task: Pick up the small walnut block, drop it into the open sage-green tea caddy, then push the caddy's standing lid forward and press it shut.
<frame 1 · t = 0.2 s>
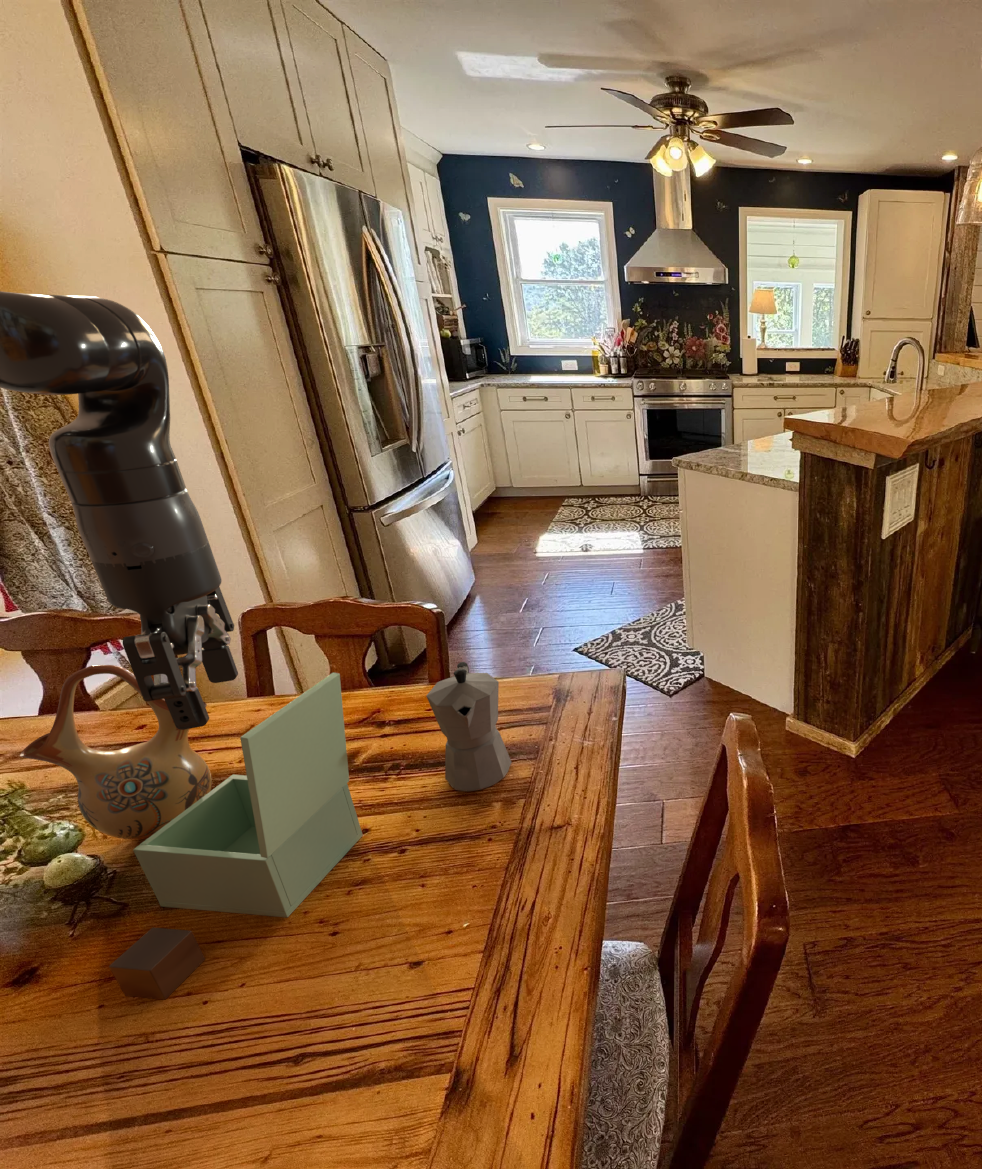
hand: (210, 701, 61), 29 cm above the table, tool pointing down, fingers open, 8 cm apart
caddy: (268, 868, 78), on the table
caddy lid: (301, 761, 70), point 17 cm above the table, hinge at 100.0°
coffeepot: (479, 768, 96), on the table
ceramic vessel: (166, 828, 83), on the table
block: (166, 976, 65), on the table
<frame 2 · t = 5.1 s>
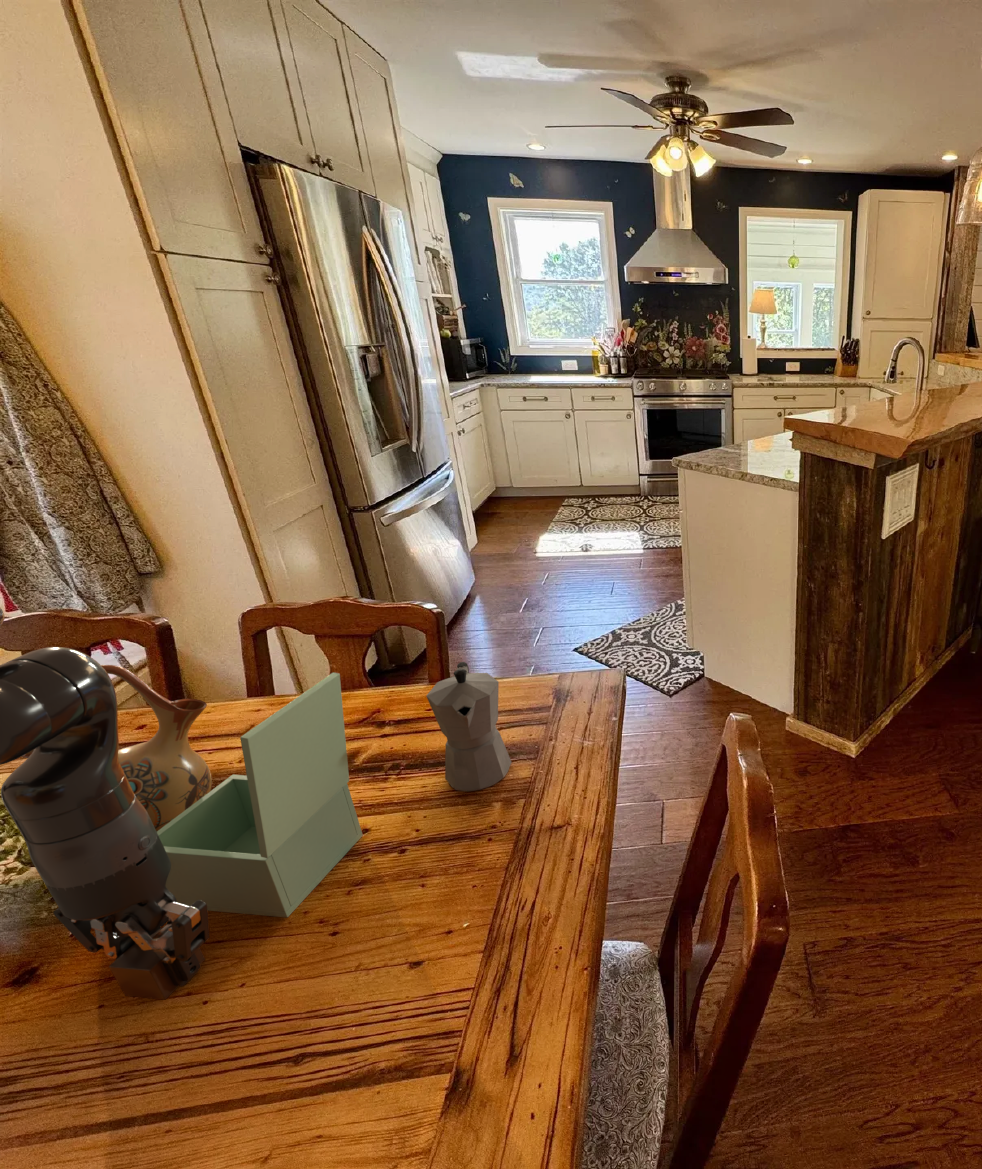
hand: (165, 974, 65), 0 cm above the table, tool pointing down, fingers closed on block, 4 cm apart
block: (166, 976, 65), on the table, touching gripper
everything else where it was.
when the fingers open (14 cm above the table, at t = 10.8 s): block drops 13 cm, resting on caddy.
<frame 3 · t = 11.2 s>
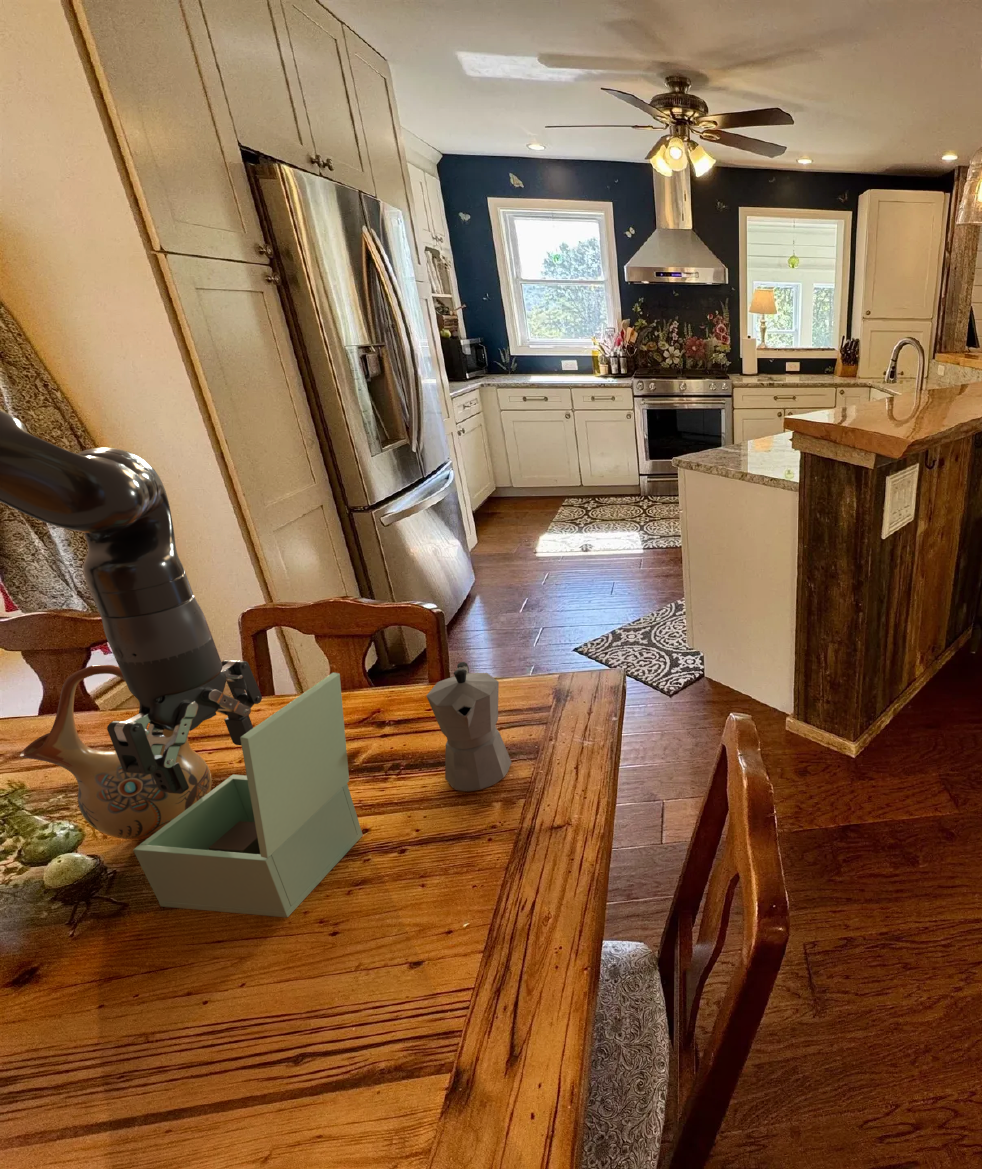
hand: (213, 766, 72), 16 cm above the table, tool pointing down, fingers open, 8 cm apart
block: (252, 861, 78), point 1 cm above the table, touching caddy
everything else where it was.
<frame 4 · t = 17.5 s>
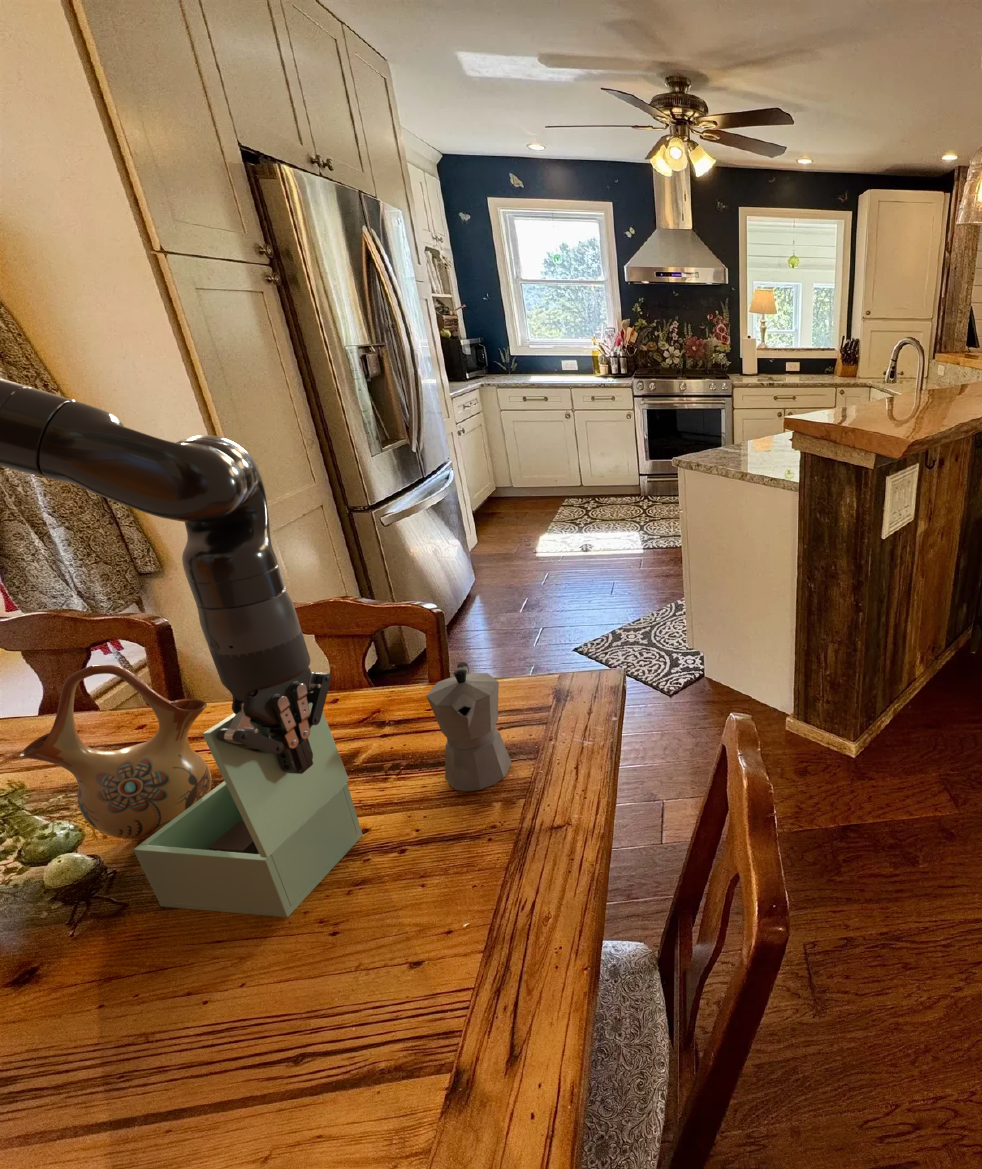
hand: (300, 768, 71), 16 cm above the table, tool pointing down, fingers closed
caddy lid: (284, 759, 71), point 17 cm above the table, hinge at 86.0°, touching gripper
everything else where it was.
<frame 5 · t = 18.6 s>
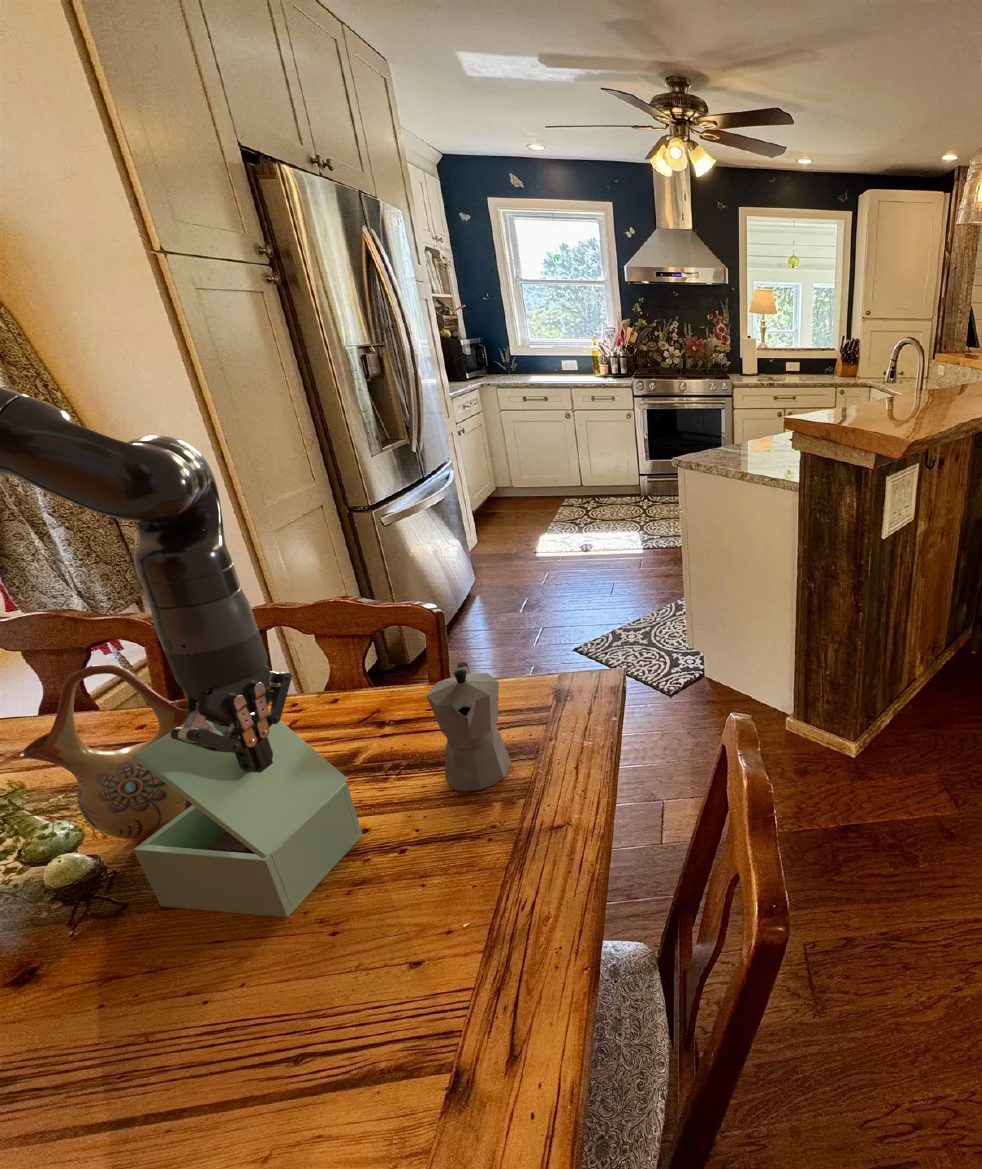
hand: (259, 767, 71), 16 cm above the table, tool pointing down, fingers closed
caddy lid: (251, 769, 71), point 16 cm above the table, hinge at 51.9°, touching gripper
everything else where it was.
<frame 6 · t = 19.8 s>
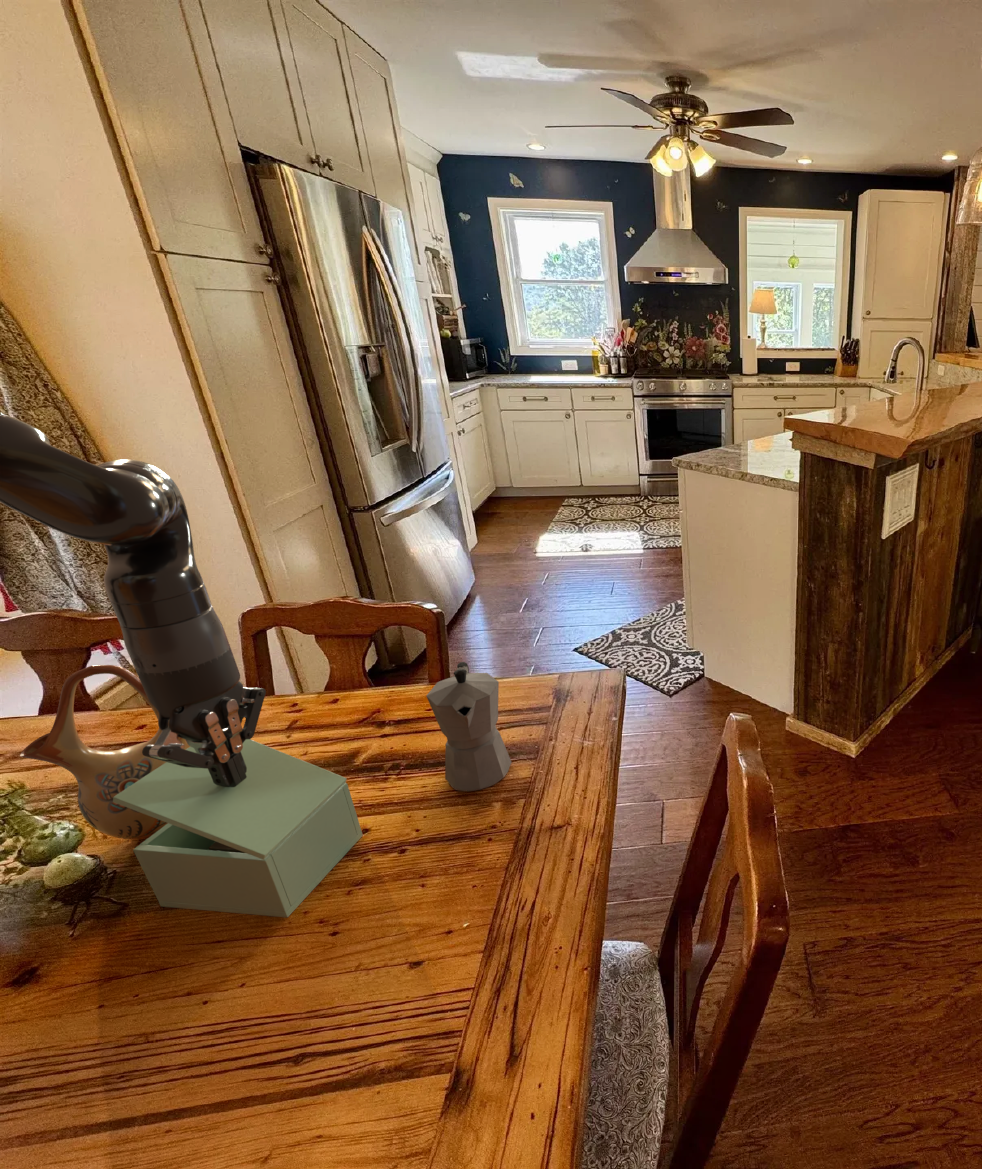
hand: (233, 782, 72), 14 cm above the table, tool pointing down, fingers closed
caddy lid: (240, 789, 73), point 13 cm above the table, hinge at 24.1°, touching gripper
everything else where it was.
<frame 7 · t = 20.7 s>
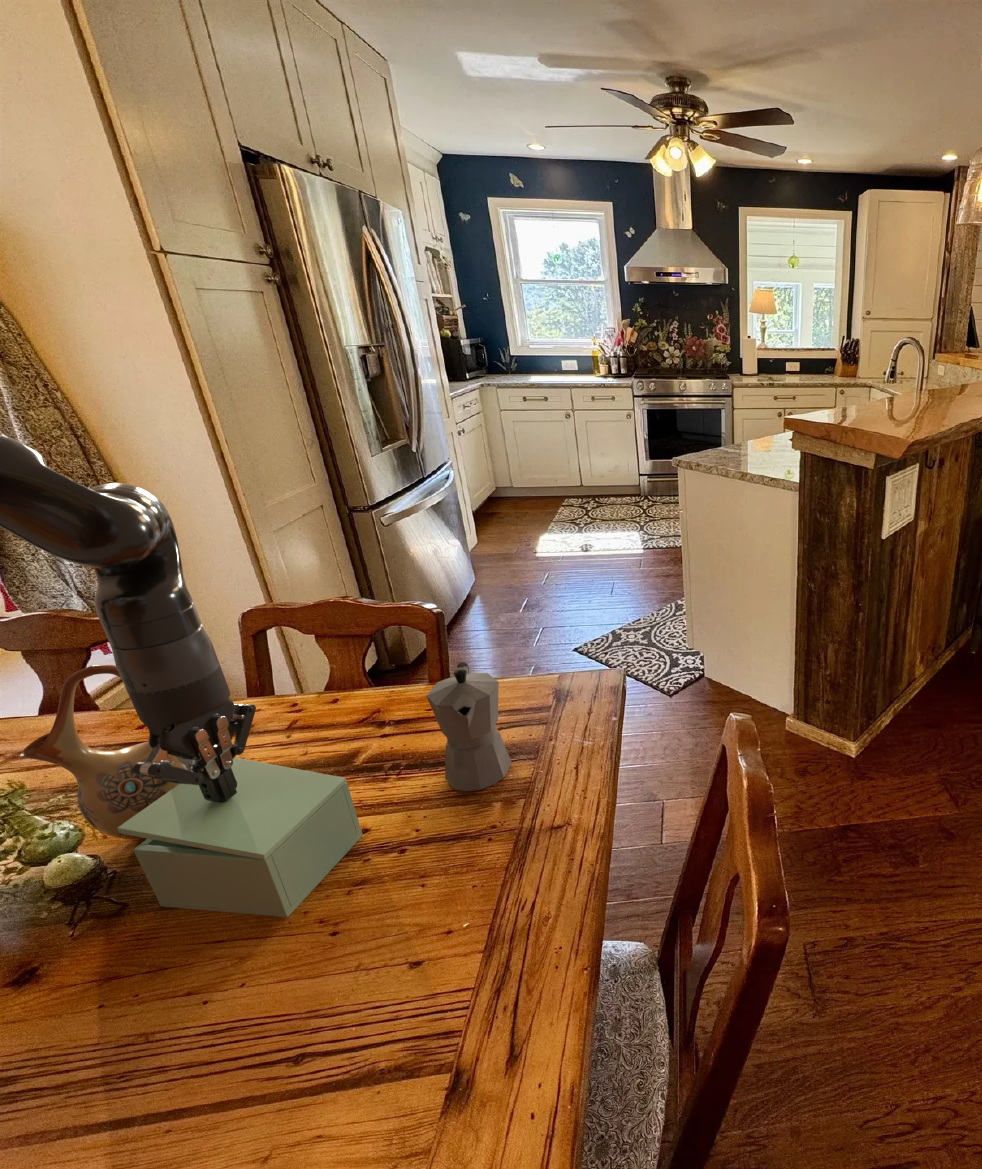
hand: (224, 797, 73), 11 cm above the table, tool pointing down, fingers closed
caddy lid: (241, 803, 74), point 10 cm above the table, hinge at 7.8°, touching gripper
everything else where it was.
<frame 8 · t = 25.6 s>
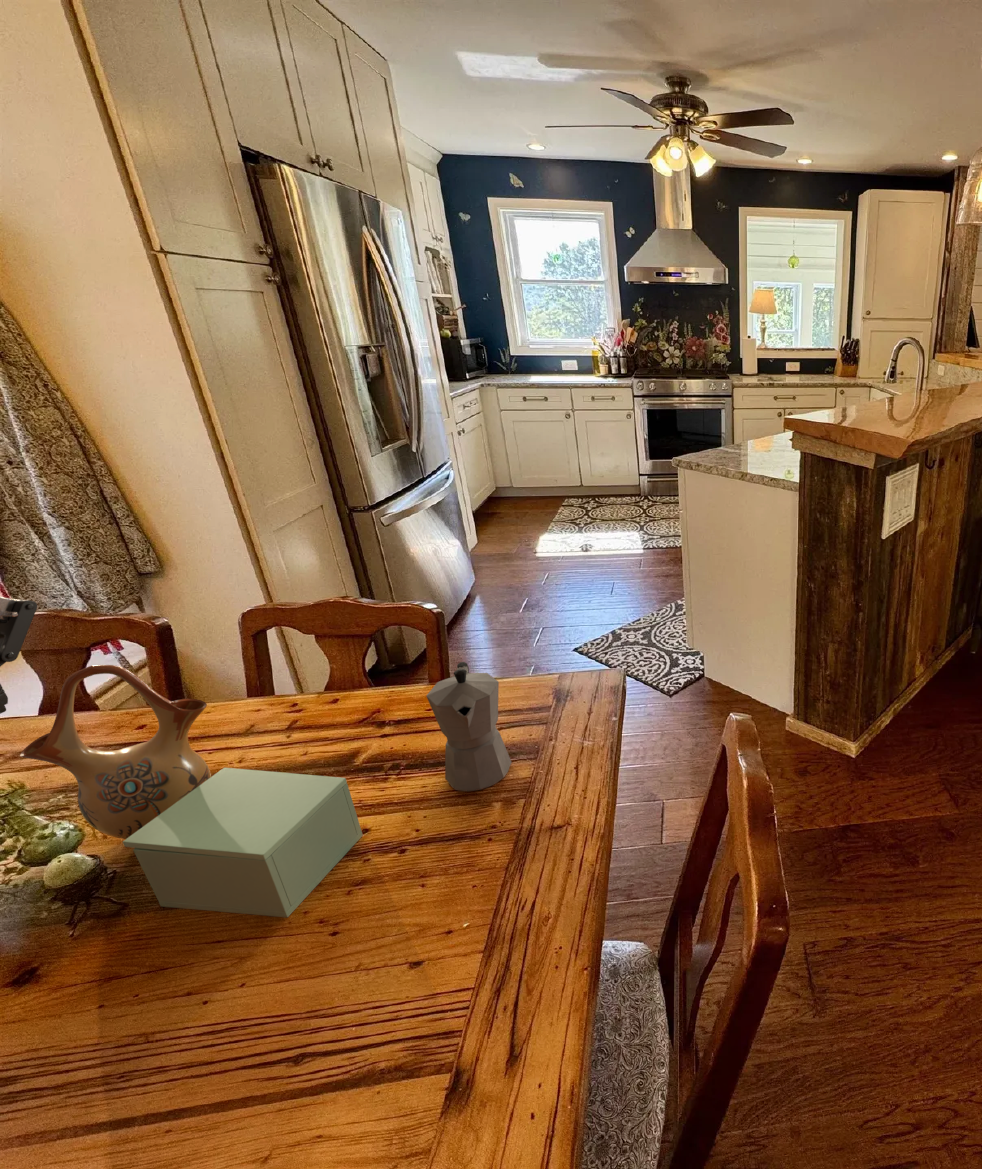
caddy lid: (243, 809, 74), point 9 cm above the table, hinge at 0.8°
everything else where it was.
at the end: block inside the target area in the caddy (2.0 cm from its centre), point 0.8 cm above the caddy's base; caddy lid at +1° (first picture: +100°) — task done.
